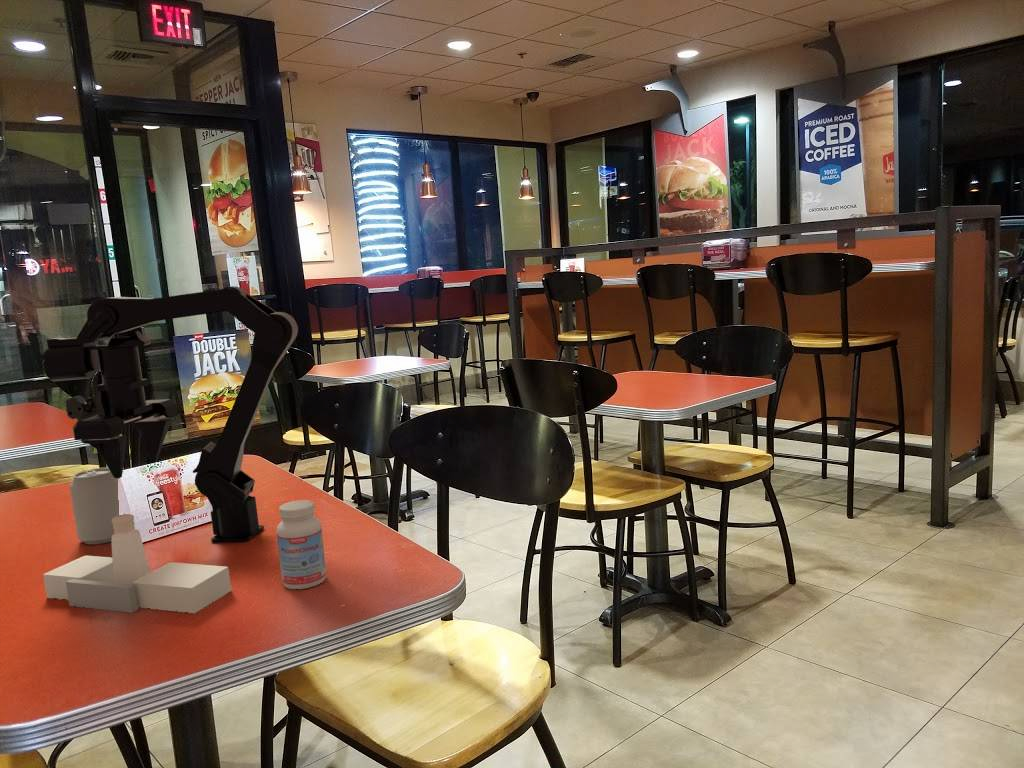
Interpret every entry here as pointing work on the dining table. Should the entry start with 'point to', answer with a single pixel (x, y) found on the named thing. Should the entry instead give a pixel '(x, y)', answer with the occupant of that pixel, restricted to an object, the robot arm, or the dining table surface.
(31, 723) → the dining table surface
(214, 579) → the grey block set
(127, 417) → the robot arm
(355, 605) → the dining table surface
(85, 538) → the can
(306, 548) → the pill bottle
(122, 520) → the pepper shaker
